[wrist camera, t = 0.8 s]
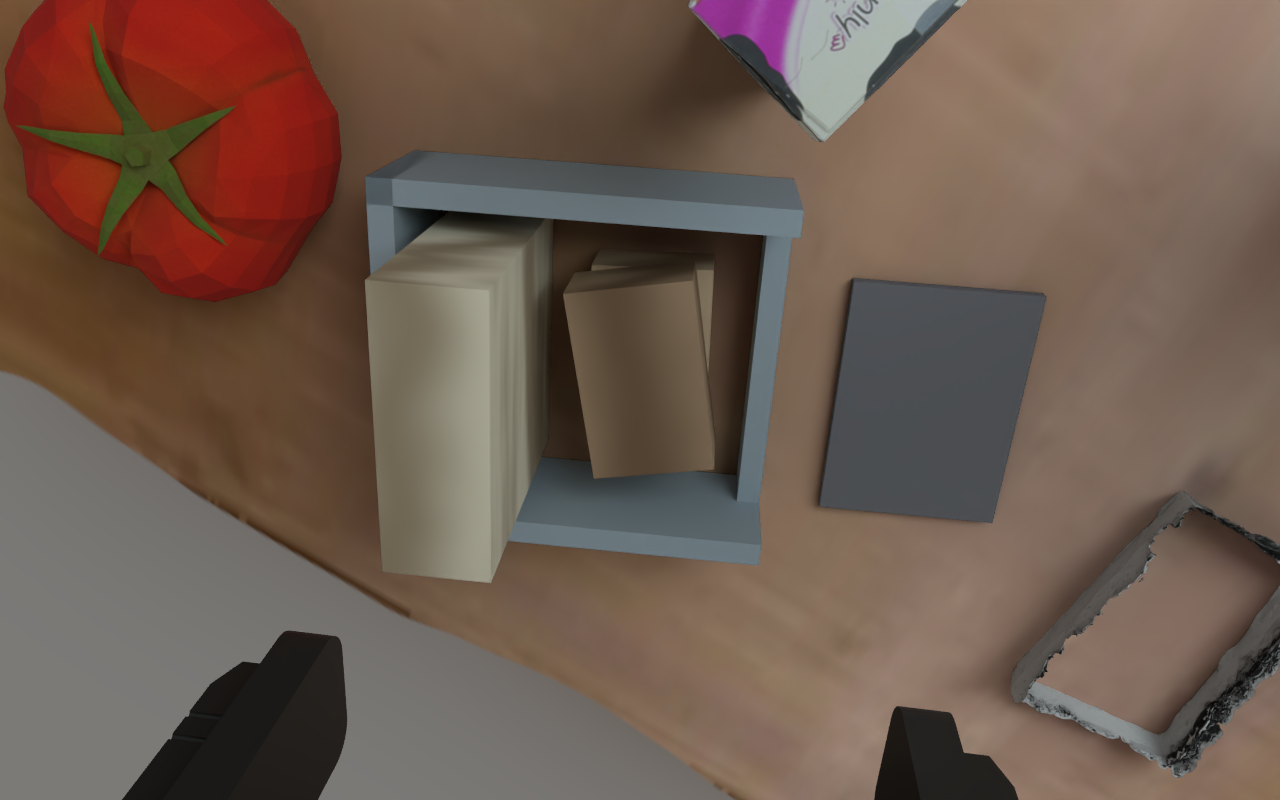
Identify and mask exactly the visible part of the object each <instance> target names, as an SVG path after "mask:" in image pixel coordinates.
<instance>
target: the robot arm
mask: <svg viewBox="0 0 1280 800" xmlns="http://www.w3.org/2000/svg"><path fill="white" fill-rule="evenodd" d="M346 727H347V710H346V696H345V682H344V668H343V655H342V645H341V642H340V639H339V638H338V637H336V636H329V635H321V634H313V633H305V632H296V631H285V632H284V633H283V634H281V635H280V637H279V638H278V639H277V641H276V642H275V643H274V645H273V646H272V648H271V649H270V650H269V652H268V653H267V655H266V656H265V658H264V659H263V660H262V662H261V663H260V664H258V663H250V662H242V663H240V664H239V665H237V666H236V667H234V668H233V669H232V670H230V671H229V672H227V673H226V674H224V675H223V676H221V677H220V678H218V679H217V680H215V681H214V682H213V683H211V684H210V685H209V687H208V688H207V689H206V691H205V692H204V693H203V695H202V696H201V697H200V698H199V700H198V701H197V702H196V704H195V705H194V706H193V708H192V709H191V710H190V714H189V716H188V717H185V718H184V719H183V721H182V722H181V723H180V725H179V726H178V727H177V729H176V730H175V731H174V733H173V736H172V739H171V740H170V739H168V740H167V742H166V743H165V744H164V746H163V747H162V748H161V750H160V751H159V752H158V753H157V755H156V756H155V757H154V759H153V760H152V761H151V763H150V764H149V765H148V766H147V768H146V769H145V771H144V772H143V773H142V774H141V776H140V777H139V778H138V780H137V781H136V782H135V783H134V785H133V786H132V788H131V789H130V790H129V792H128V793H127V794H126V795H125V797H124V798H123V799H122V800H318V798H319V796H320V795H321V792H322V790H323V789H324V787H325V785H326V783H327V781H328V779H329V777H330V775H331V774H332V772H333V770H334V768H335V766H336V764H337V762H338V760H339V757H340V754H341V751H342V748H343V744H344V740H345V735H346ZM874 800H1018V797H1017V794H1016V791H1015V788H1014V786H1013V785H1012V784H1011V782H1010V781H1009V780H1008V779H1007V778H1006V776H1005V775H1004V774H1003V773H1002V771H1001V770H1000V769H999V768H998V766H997V765H996V764H995V763H994V761H993V760H992V759H991V758H990V757H989V756H985V755H977V754H969V753H964V752H963V749H962V745H961V742H960V738H959V735H958V731H957V727H956V724H955V721H954V718H953V716H952V714H951V713H949V712H941V711H933V710H925V709H917V708H909V707H900V706H897V707H896V708H895V709H894V711H893V714H892V717H891V722H890V726H889V731H888V735H887V740H886V744H885V749H884V753H883V758H882V762H881V767H880V771H879V776H878V780H877V785H876V791H875V799H874Z"/></svg>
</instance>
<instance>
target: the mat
mask: <svg viewBox="0 0 1280 800" xmlns="http://www.w3.org/2000/svg"><path fill="white" fill-rule="evenodd" d="M1045 301H1046V296H1045V295H1044V294H1043V293H1032V292H1020V291H1008V290H995V289H983V288H970V287H958V286H945V285H933V284H921V283H908V282H896V281H883V280H871V279H858V278H853V281H852V287H851V294H850V300H849V307H848V313H847V320H846V326H845V333H844V339H843V346H842V353H841V359H840V366H839V372H838V379H837V385H836V392H835V398H834V405H833V411H832V418H831V424H830V431H829V437H828V444H827V451H826V457H825V464H824V470H823V477H822V483H821V490H820V496H819V506H820V507H828V508H839V509H849V510H860V511H871V512H881V513H892V514H903V515H913V516H924V517H934V518H945V519H956V520H966V521H977V522H988V523H992V522H993V518H994V514H995V510H996V506H997V502H998V497H999V493H1000V489H1001V485H1002V481H1003V476H1004V472H1005V468H1006V464H1007V460H1008V456H1009V451H1010V447H1011V443H1012V439H1013V435H1014V431H1015V426H1016V422H1017V418H1018V414H1019V410H1020V406H1021V401H1022V397H1023V393H1024V389H1025V385H1026V380H1027V376H1028V372H1029V368H1030V364H1031V360H1032V355H1033V351H1034V347H1035V343H1036V339H1037V335H1038V330H1039V326H1040V322H1041V318H1042V314H1043V309H1044V305H1045Z"/></svg>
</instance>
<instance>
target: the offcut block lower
mask: <svg viewBox="0 0 1280 800" xmlns="http://www.w3.org/2000/svg"><path fill="white" fill-rule="evenodd" d="M689 260H696V269H697V278H698V287H699V296H700V305H701V314H702V323H703V332H704V341H705V350H706V359H707V368H708V370H709V352H710V333H711V315H712V297H713V279H714V260H715V254H699V253H676V252H654V251H631V250H609V249H599V251H598V253H597V255H596V257H595V259H594V261H593V263H592V271H594V270H604V269H613V268H623V267H632V266H642V265H651V264H661V263H670V262H680V261H689Z"/></svg>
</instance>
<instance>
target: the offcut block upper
mask: <svg viewBox="0 0 1280 800" xmlns="http://www.w3.org/2000/svg"><path fill="white" fill-rule="evenodd" d="M563 297H564V303H565V309H566V315H567V321H568V327H569V333H570V339H571V345H572V351H573V357H574V363H575V369H576V375H577V381H578V387H579V393H580V399H581V405H582V411H583V417H584V423H585V429H586V435H587V441H588V447H589V453H590V459H591V465H592V471H593V477H594V479H596V478H609V477H622V476H635V475H648V474H661V473H674V472H687V471H700V470H713V469H714V460H715V432H714V423H713V414H712V405H711V395H710V386H709V377H708V368H707V359H706V350H705V341H704V332H703V323H702V314H701V305H700V296H699V287H698V278H697V269H696V260H689V261H680V262H670V263H661V264H651V265H642V266H632V267H623V268H613V269H604V270H594V271H585V272H575V273H574V274H573V276H572V278H571V280H570V282H569V284H568V286H567V287H566V289H565V291H564V293H563Z"/></svg>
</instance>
